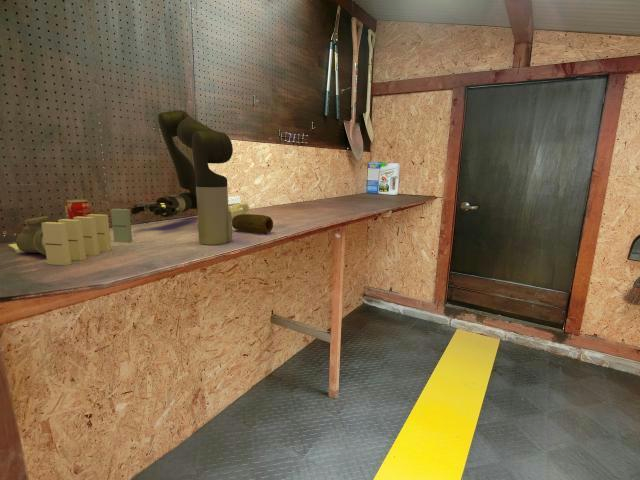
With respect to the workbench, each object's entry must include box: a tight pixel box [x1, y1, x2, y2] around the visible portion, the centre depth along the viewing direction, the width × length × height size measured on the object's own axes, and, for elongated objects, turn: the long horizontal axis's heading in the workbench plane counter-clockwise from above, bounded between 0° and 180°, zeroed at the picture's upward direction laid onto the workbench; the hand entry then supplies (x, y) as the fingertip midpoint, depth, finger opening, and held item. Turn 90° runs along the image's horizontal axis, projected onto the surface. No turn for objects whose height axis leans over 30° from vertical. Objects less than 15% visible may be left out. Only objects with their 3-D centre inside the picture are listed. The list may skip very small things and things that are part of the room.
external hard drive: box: [7, 243, 24, 253], centre depth 103 cm, size 2×8×12 cm
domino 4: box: [87, 213, 113, 253], centre depth 98 cm, size 2×5×10 cm, turn 81°
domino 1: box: [41, 221, 72, 266], centre depth 85 cm, size 2×5×10 cm, turn 81°
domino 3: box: [73, 216, 100, 257], centre depth 94 cm, size 2×5×10 cm, turn 81°
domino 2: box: [57, 218, 87, 261], centre depth 90 cm, size 2×5×10 cm, turn 81°
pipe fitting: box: [15, 215, 51, 256], centre depth 94 cm, size 12×8×10 cm
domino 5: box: [110, 208, 133, 243], centre depth 110 cm, size 2×5×10 cm, turn 81°
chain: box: [228, 202, 250, 220], centre depth 152 cm, size 30×6×6 cm, turn 158°
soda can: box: [64, 199, 93, 219], centre depth 113 cm, size 7×7×12 cm
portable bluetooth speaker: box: [231, 213, 274, 234], centre depth 128 cm, size 15×7×7 cm, turn 67°
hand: (143, 211), depth 120 cm, fingers open, 8 cm apart
